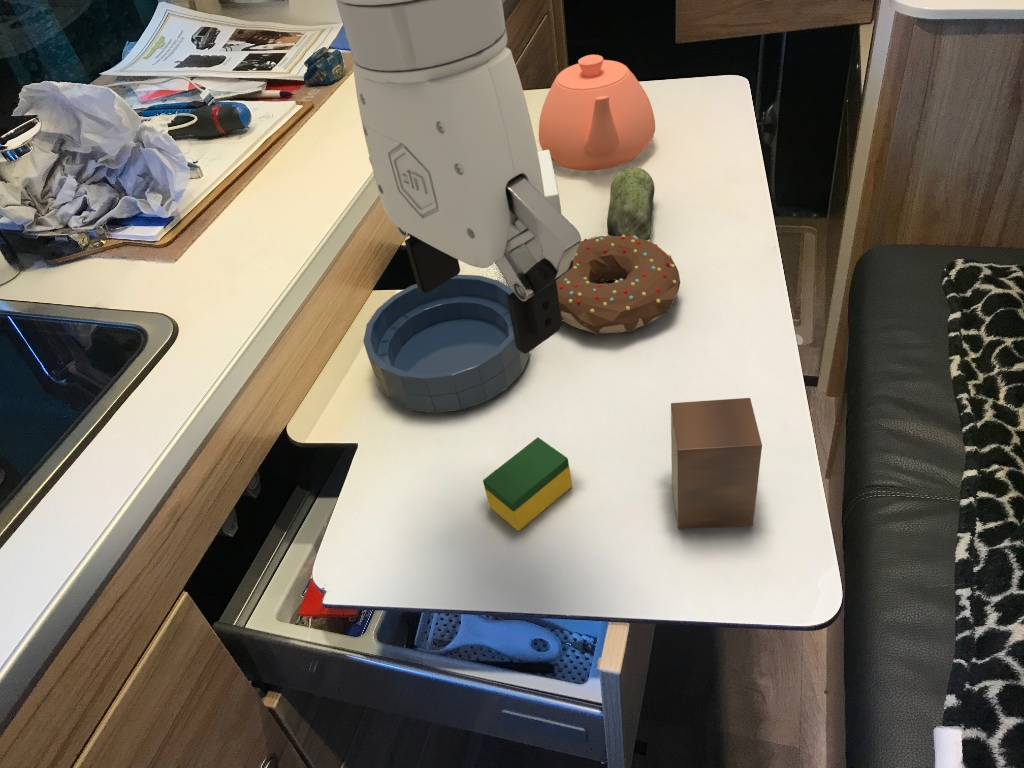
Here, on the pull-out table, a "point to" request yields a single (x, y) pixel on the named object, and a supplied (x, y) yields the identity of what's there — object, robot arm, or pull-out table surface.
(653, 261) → the donut
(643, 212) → the vegetable
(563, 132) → the teapot
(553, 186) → the cosmetics box
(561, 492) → the sponge
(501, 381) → the bowl
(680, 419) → the wooden block
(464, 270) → the pull-out table surface
